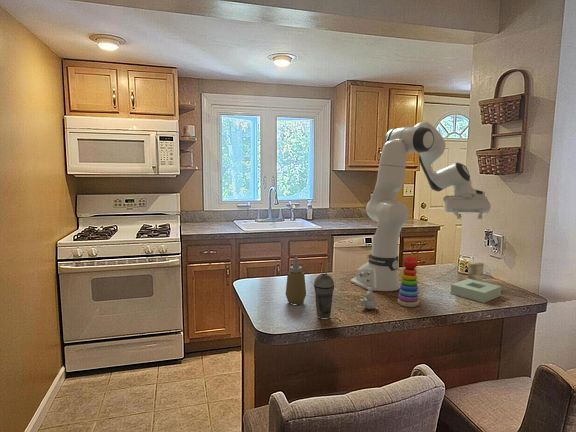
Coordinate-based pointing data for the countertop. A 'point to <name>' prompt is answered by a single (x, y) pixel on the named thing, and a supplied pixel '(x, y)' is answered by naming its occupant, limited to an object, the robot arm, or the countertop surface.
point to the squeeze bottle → (295, 284)
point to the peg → (475, 271)
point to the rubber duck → (369, 300)
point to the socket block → (476, 290)
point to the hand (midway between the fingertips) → (469, 218)
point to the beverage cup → (324, 294)
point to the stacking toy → (409, 284)
